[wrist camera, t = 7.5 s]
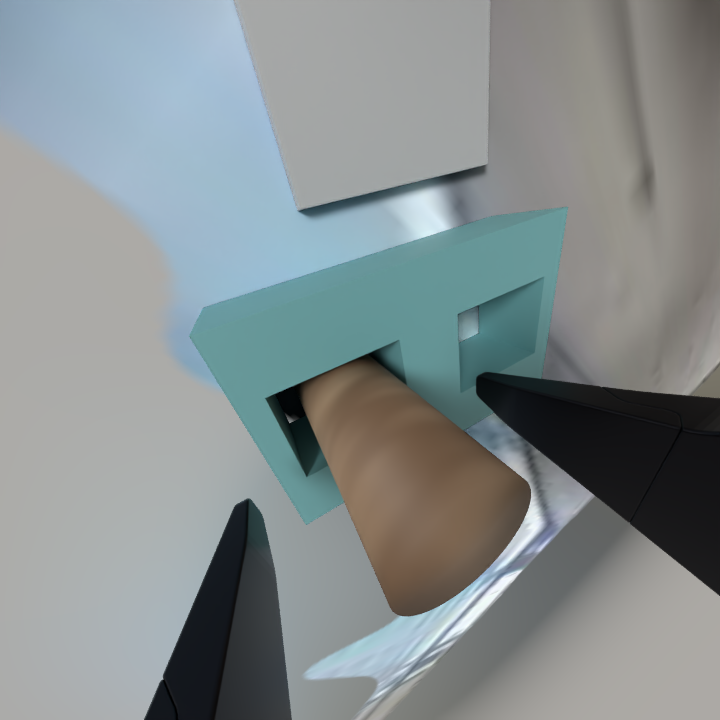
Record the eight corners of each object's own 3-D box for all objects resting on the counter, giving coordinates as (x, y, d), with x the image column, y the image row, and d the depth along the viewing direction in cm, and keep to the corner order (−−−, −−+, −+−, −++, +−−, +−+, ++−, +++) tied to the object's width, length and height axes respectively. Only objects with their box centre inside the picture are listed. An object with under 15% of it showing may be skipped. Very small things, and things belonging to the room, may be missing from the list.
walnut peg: (351, 322, 13) (540, 444, 5) (367, 382, 15) (522, 541, 7) (278, 351, 12) (369, 561, 4) (305, 412, 14) (403, 637, 6)
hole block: (492, 215, 15) (568, 206, 11) (488, 361, 20) (540, 384, 16) (203, 307, 10) (189, 336, 7) (290, 464, 15) (306, 525, 12)
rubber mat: (481, -203, 8) (494, -227, 8) (479, 166, 13) (487, 164, 13) (144, -295, 6) (137, -338, 5) (297, 211, 11) (300, 209, 10)
